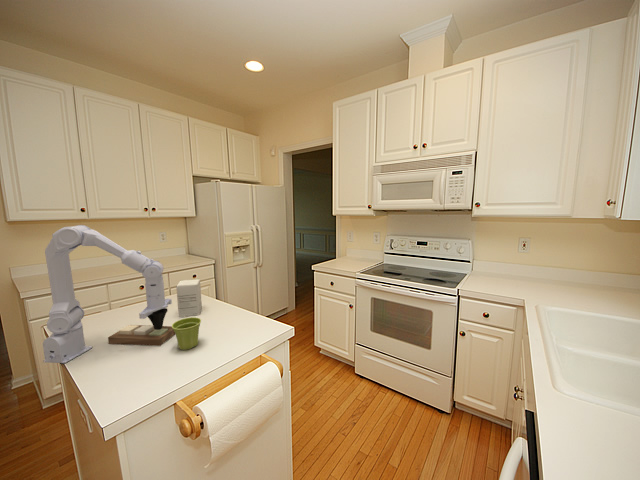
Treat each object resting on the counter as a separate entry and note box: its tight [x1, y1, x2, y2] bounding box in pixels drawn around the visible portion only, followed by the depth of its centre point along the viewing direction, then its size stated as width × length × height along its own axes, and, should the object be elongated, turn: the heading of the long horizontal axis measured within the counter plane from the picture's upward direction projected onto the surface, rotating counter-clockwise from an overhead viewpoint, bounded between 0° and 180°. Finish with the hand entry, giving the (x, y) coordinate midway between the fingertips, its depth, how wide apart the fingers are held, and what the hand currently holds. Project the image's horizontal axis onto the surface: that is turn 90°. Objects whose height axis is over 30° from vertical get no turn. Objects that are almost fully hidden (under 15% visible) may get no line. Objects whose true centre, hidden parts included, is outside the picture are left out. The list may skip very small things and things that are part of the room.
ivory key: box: [134, 325, 154, 335], centre depth 98 cm, size 4×4×2 cm
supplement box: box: [175, 278, 203, 318], centre depth 121 cm, size 9×9×15 cm
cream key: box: [118, 324, 139, 335], centre depth 99 cm, size 4×4×2 cm
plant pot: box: [171, 316, 202, 351], centre depth 92 cm, size 9×9×9 cm
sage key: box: [149, 329, 168, 336], centre depth 98 cm, size 4×4×2 cm
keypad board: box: [107, 324, 176, 347], centre depth 98 cm, size 10×20×2 cm, turn 85°
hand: (158, 328), depth 98 cm, fingers closed
